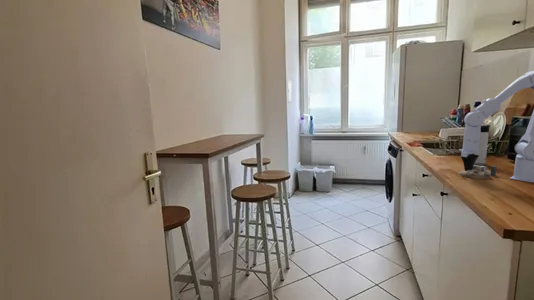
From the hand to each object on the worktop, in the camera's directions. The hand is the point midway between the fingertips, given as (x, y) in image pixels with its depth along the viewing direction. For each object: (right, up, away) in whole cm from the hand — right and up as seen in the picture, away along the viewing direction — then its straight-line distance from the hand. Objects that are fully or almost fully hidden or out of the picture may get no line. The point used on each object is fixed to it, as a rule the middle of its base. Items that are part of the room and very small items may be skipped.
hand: (468, 170), depth 126 cm
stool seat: (+2, -2, -1) cm, 3 cm away
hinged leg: (+4, 0, +1) cm, 4 cm away
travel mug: (+20, +2, +22) cm, 30 cm away
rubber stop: (+11, -2, 0) cm, 11 cm away
